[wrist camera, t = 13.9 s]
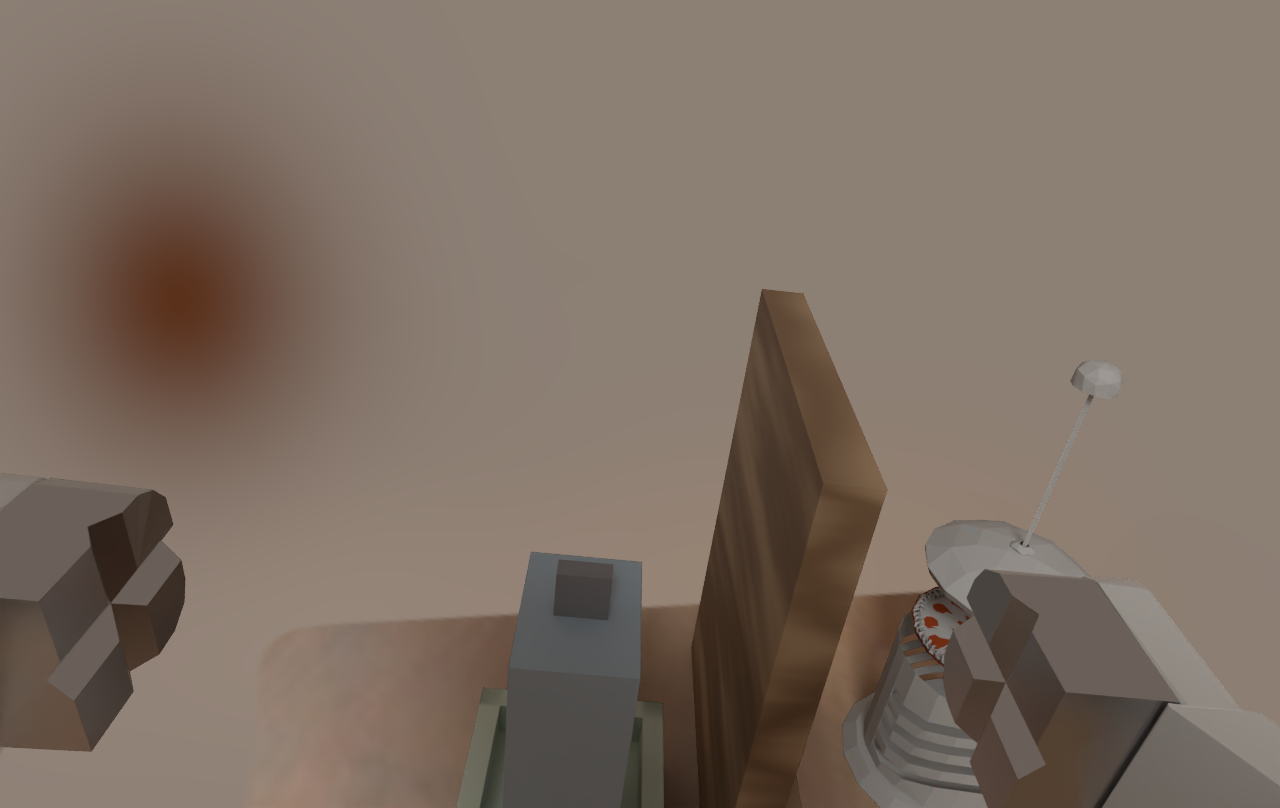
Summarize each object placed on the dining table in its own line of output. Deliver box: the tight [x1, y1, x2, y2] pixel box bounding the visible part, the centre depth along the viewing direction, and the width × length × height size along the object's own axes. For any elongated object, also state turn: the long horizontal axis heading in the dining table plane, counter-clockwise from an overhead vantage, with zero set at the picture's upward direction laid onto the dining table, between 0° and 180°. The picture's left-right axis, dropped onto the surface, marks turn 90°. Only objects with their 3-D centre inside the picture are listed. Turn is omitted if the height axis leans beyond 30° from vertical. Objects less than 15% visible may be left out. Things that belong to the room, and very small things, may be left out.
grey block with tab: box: [503, 552, 642, 808], centre depth 33 cm, size 4×6×15 cm
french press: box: [843, 360, 1122, 808], centre depth 39 cm, size 10×12×25 cm
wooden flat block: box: [691, 289, 887, 808], centre depth 38 cm, size 5×16×24 cm, turn 179°
